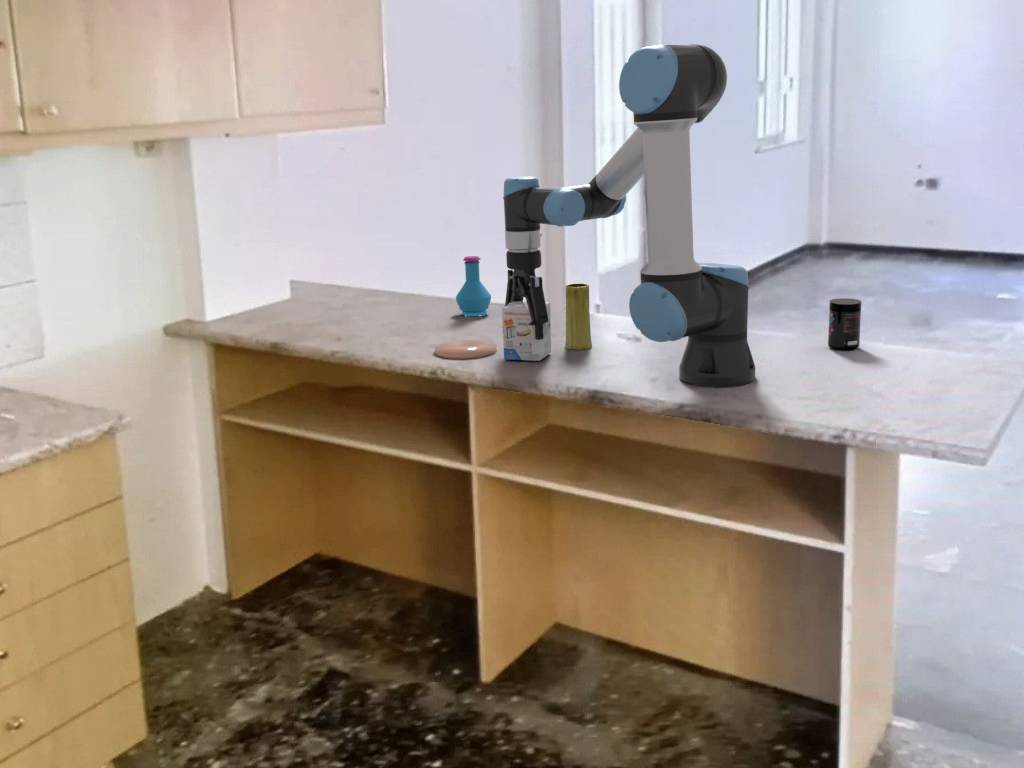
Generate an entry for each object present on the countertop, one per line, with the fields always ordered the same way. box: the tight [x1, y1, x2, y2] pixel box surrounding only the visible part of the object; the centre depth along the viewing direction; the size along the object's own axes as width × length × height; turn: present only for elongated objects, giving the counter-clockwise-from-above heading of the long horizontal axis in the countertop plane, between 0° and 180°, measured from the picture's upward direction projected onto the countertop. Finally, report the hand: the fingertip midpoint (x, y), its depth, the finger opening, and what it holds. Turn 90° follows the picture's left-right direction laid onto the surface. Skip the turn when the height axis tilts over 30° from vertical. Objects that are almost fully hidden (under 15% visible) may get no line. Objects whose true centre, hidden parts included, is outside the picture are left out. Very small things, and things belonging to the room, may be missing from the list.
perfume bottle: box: [455, 255, 492, 317], centre depth 301 cm, size 9×9×15 cm
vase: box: [564, 282, 593, 351], centre depth 262 cm, size 6×6×14 cm
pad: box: [434, 339, 498, 360], centre depth 263 cm, size 14×14×1 cm
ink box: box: [501, 300, 552, 362], centre depth 254 cm, size 9×8×12 cm
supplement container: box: [827, 298, 863, 352], centre depth 253 cm, size 7×7×10 cm
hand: (527, 348), depth 255 cm, fingers closed on ink box, 11 cm apart
